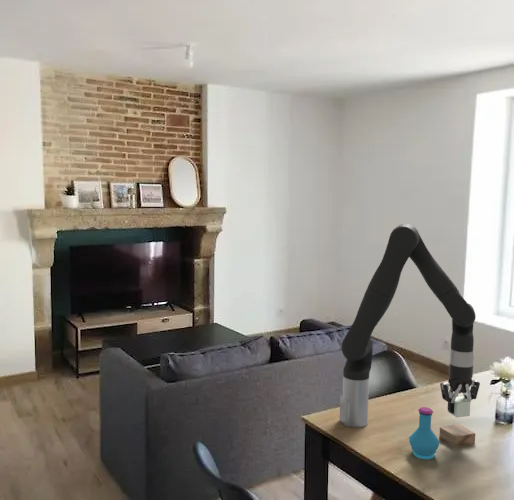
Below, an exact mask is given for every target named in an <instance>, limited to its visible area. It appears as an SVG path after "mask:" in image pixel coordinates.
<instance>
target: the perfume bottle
mask: <svg viewBox="0 0 514 500" xmlns="http://www.w3.org/2000/svg"><path fill="white" fill-rule="evenodd" d="M417 410H418V411H417V412H418V414H419V421H418V427H417V429H416V430H415V431H414V432H412V434H411V435H410V436H409V438H408V440H409V445H410V447H411V448H410V449H411V450H412V454H413V456H414V455H415V456H414V457H416V458H417V459H421V458H422V460H431V458H432V459H434V457H435V454H436V453H437V450H438V448H439V446H440V440H439V439H438V437H437V436H436V434H435V433H434V432H433V430H432V427H431V426H432V416H433V414H434V410H433V409H432V408H430V407H426V406H423V407H420V408H419V409H417Z"/></svg>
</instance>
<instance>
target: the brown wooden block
mask: <svg viewBox="0 0 514 500" xmlns="http://www.w3.org/2000/svg"><path fill="white" fill-rule="evenodd" d="M438 437H439V438H440V439H441V440H443V441H444V442H446V443H448V444H449V445H450V446H452V447H454V448H457V449H458V448H462V447H467V446H472V445H475V444H476V443H475V442H476V433H475V431H472V430H471V429H469V428H467V427H465V426H464V425H462V424H460V423H456V424H455V423H454V424H450V425H444V426H439V436H438Z"/></svg>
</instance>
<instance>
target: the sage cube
mask: <svg viewBox="0 0 514 500" xmlns="http://www.w3.org/2000/svg"><path fill="white" fill-rule="evenodd" d="M454 403H455V404H454V413H453V414H451V413H450V412H449V411H448V410H447V412H448V413H449V414H451V415H452V416H454V417H455V418H465V417H470V416H471V402H470V401H469V400H467V399H465V398H464V396H463V395H460V396H459V395H458V396H457V397H456V399H455V402H454Z"/></svg>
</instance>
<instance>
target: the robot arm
mask: <svg viewBox="0 0 514 500" xmlns="http://www.w3.org/2000/svg"><path fill="white" fill-rule="evenodd" d="M385 248H386V249H385V252H384V254H383V256H382V259H381V262H380V264H379V266H377V268H376V270H375V272H374V274H373V276H372V277H371V279H370V281H369V283H368V285H367V287H366V290H365V293H364V294H363V297H362V299H361V302H360V305H359V307H358V310H357V312H356V316H355V318H354V321H353V322H352V324H351V326H350V328H349V329H348V331H347V333H346V335H345V336H344V338H343V339H342V341H341V352H342V354H343V357H344V358H345V359H346V361H345V365H344V367H343V371H342V394H340V397H339V398H340V399H339V421H340V422H341V423H342V424H343V425H344V426H345V427H346V428H348V427H351V428H364V427H366V426H367V425H368V420H369V396H370V395H369V391H370V372H371V370H372V364H373V363H372V361H373V341H372V338H371V336H372V333H374V329H375V328H376V326H377V325H378V324H379V322H380V321H381V320H382V318H383V317H384V315H385V314H386V312H387V310H388V309H389V307H390V305H391V304H392V301H393V299H394V297H395V294H396V291H397V290H398V289H397V288H398V287H399V282H400V279H401V274H402V271H403V269H404V267H405V265H406V263H407V261H408V260H409V259H410V260H411V261H412V262H413V263H414V265H415V266H416V268H417V269H418V271H419V272H420V274H421V276H422V278H423V279H424V282H425V283H426V285H427V286H428V288H429V289H430V290H431V292H432V293H433V295H434V296H435V297H436V298H437V299H438V300H439V302H440V303H441V304H442V305H443V307H444V308H445V310H446V312H447V313H448V315H449V316H450V318H451V327H452V328H451V329H452V331H451V339H450V352H449V363H448V376H449V378H448V380H447V382H440V385H439V386H440V391H441V399H442V400H444V401H445V402H447V412H448V411H449V412H450V413H449V412H448V413H449V414H451V415H452V414H453V413H454V404H455V403H454V402H455V399H456V397H458V396H459V394H461V393H462V397H464V398H465V399H467V400H469V401H470V403H471V402H472V401H473V400H476V399H477V396H478V392H479V389H480V385H481V384H480V383H481V382H480V381H477V380H475V379H473V376H474V358H475V357H474V342H475V341H474V340H475V338H474V332H473V331H474V323H475V321H476V318H477V317H476V312H475V309H474V307H473V306H472V305H471V304H470V303H468V302H467V301H466V299H465V298H464V297H463V296H462V295H461V293H460V290H459V289H458V287H457V286H456V284H455V283H454V282H453V280H452V279H451V278H450V277H449V276H448V275H447V273H446V272H445V271H444V270H443V268H442V267H441V266H440V265H439V263H438V262H437V261H436V259H435V258H434V256H432V254H431V253H430V251H429V250H428V248H427V246H426V244H425V242H424V240H423V239H422V237H421V235H420V233H419V231H418V229H417V228H416V227H415V226H414V225H413V224H410V223H401V224H399V225H398V226H396V227H395V228H393V229H392V231H391V233H390V235H389V238H388V241H387V245H386V247H385Z"/></svg>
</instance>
